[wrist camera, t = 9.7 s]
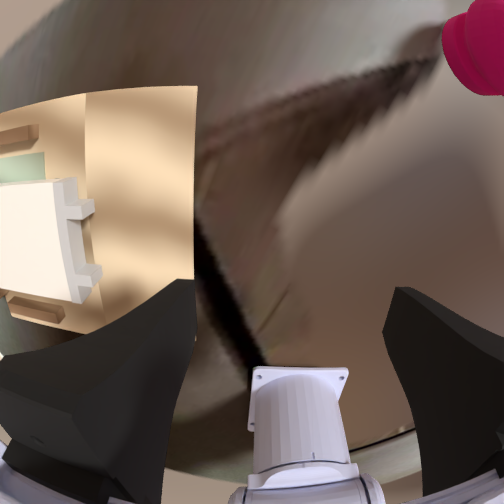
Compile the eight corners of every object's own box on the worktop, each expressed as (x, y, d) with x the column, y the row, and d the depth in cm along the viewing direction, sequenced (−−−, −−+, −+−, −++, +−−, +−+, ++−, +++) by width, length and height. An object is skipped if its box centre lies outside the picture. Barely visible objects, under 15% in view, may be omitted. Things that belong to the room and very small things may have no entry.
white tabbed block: (110, 288, 20) (96, 306, 18) (4, 273, 20) (-12, 286, 18) (98, 174, 17) (79, 181, 15) (-12, 182, 17) (-32, 189, 14)
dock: (198, 332, 24) (189, 367, 20) (23, 304, 24) (1, 326, 20) (200, 88, 17) (185, 78, 13) (-4, 118, 17) (-37, 122, 13)
